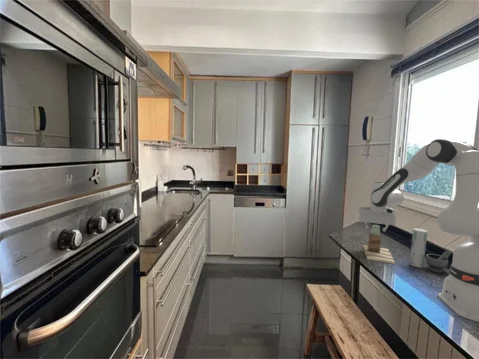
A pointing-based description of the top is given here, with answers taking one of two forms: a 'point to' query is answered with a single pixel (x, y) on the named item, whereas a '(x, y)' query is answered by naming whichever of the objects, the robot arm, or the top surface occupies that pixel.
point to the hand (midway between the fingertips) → (375, 230)
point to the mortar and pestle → (438, 261)
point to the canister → (375, 230)
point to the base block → (373, 247)
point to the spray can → (418, 247)
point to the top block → (374, 239)
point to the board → (379, 255)
